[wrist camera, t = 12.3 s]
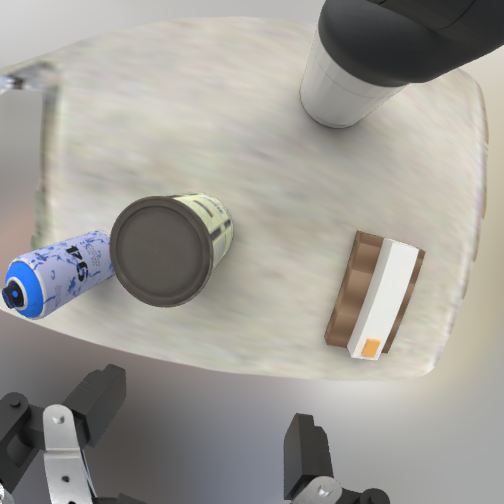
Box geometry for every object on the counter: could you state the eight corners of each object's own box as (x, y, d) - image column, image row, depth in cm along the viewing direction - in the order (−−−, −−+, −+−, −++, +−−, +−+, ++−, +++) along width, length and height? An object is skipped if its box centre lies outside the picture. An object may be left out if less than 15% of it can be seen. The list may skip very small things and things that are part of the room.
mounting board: (357, 230, 37) (362, 233, 35) (417, 247, 37) (425, 251, 34) (324, 336, 41) (326, 344, 38) (382, 345, 40) (387, 353, 38)
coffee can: (154, 255, 40) (102, 287, 26) (170, 184, 38) (119, 184, 24) (222, 277, 40) (197, 322, 26) (243, 204, 37) (226, 214, 24)
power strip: (378, 234, 36) (394, 242, 31) (403, 241, 36) (421, 250, 31) (344, 339, 40) (352, 359, 35) (367, 343, 40) (378, 363, 35)
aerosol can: (128, 269, 41) (40, 325, 21) (93, 285, 42) (9, 339, 22) (107, 221, 39) (8, 249, 20) (73, 241, 40) (-19, 276, 21)
